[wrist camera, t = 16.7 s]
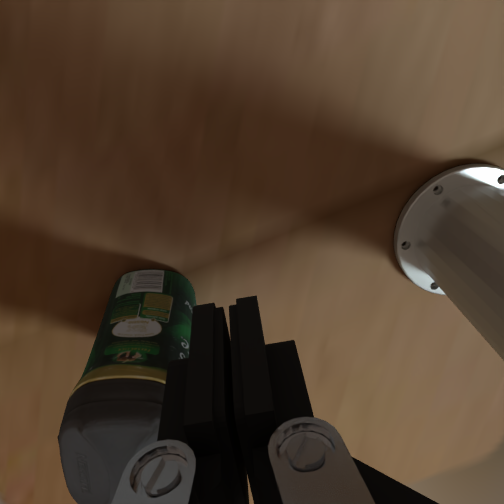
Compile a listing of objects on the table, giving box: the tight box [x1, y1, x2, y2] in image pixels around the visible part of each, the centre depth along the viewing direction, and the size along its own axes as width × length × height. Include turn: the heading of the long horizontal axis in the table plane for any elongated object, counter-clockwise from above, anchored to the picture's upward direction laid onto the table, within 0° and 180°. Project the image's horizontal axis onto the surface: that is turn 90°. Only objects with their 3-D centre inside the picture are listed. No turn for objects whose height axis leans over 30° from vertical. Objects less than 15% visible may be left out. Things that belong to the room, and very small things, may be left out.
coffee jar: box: [58, 269, 196, 504], centre depth 35 cm, size 10×8×19 cm
